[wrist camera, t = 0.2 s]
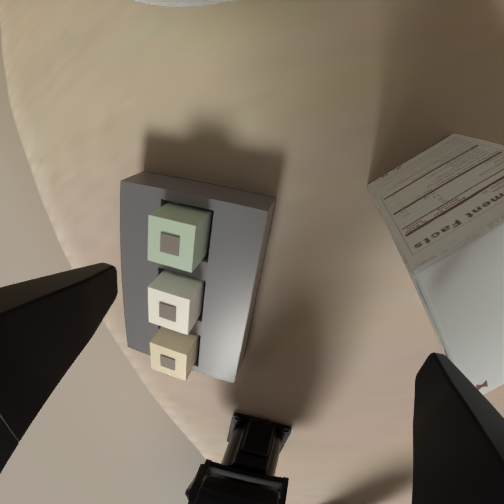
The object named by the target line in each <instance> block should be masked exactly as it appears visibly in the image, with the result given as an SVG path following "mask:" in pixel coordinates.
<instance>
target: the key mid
mask: <svg viewBox="0 0 504 504" xmlns="http://www.w3.org/2000/svg"><path fill="white" fill-rule="evenodd" d="M203 289H204V280H201V279H197V278H194V277H190V276H187V275H183V274H180V273H176V272H173V271H169V270H166V269H164V270H163V271H162V272H161V274H160V275H159V276H158V277H157V278H156V279H155V280H154V281H153V282H152V283H151V284H150V285H149V286H148V317H149V322H150V323H153V324H156V325H159V326H162V327H165V328H168V329H171V330H174V331H177V332H180V333H183V334H186V335H188V334H189V332H190V330H191V329H192V327H193V326H194V324H195V322H196V321H197V319H198V317H199V316H200V314H201V310H202V299H203Z"/></svg>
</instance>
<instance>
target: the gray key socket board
mask: <svg viewBox="0 0 504 504" xmlns="http://www.w3.org/2000/svg"><path fill="white" fill-rule="evenodd" d="M275 201H276V198H273V197H269V196H264V195H260V194H255V193H251V192H246V191H242V190H237V189H232V188H227V187H222V186H218V185H213V184H208V183H203V182H198V181H192V180H187V179H182V178H177V177H171V176H166V175H160V174H154V173H149V172H141V173H138V174H136V175H133V176H131V177H128V178H126V179H124V180H121V185H120V247H121V272H122V289H123V302H124V314H125V325H126V334H127V343H128V347H130V348H132V349H135V350H137V351H140V352H142V353H145V354H148V355H150V341H151V340H152V338H153V337H154V336H155V334H156V333H157V332H158V330H159V329H160V327H161V326H159V325H156V324H153V323H150V322H149V317H148V286H149V285H150V284H151V283H152V282H153V281H154V280H155V279H156V278H157V277H158V276H159V275H160V274H161V272H162V271H163V270H164V269H166V270H169V271H173V272H176V273H180V274H183V275H187V276H190V277H194V278H197V279H201V280H204V289H203V299H202V310H201V314H200V316H199V317H198V319H197V321H196V322H195V324H194V326H193V327H192V329H191V330H190V333H193V334H196V335H199V345H198V358H197V361H196V362H195V364H194V366H193V368H192V371H196V372H199V373H202V374H205V375H208V376H211V377H214V378H218V379H221V380H224V381H228V382H231V383H234V382H235V380H236V377H237V374H238V372H239V369H240V366H241V364H242V361H243V357H244V352H245V348H246V343H247V338H248V333H249V329H250V324H251V319H252V314H253V309H254V305H255V300H256V295H257V290H258V285H259V280H260V275H261V270H262V266H263V261H264V256H265V251H266V246H267V241H268V236H269V231H270V226H271V221H272V216H273V211H274V206H275ZM168 202H172V203H177V204H181V205H186V206H191V207H195V208H200V209H204V210H209V211H212V216H211V224H210V233H209V241H208V250H207V255H206V256H205V257H204V258H203V259H202V261H201V262H200V263H199V264H198V266H197V267H196V268H195V269H194V270H193V272H192V273H191V272H187V271H184V270H180V269H177V268H173V267H170V266H166V265H163V264H159V263H156V262H152V261H149V260H148V217H149V214H151V213H152V212H154V211H155V210H157V209H158V208H160V207H162V206H163V205H165V204H166V203H168ZM150 356H151V355H150Z"/></svg>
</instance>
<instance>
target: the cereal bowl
mask: <svg viewBox="0 0 504 504" xmlns="http://www.w3.org/2000/svg"><path fill="white" fill-rule="evenodd" d="M135 1H138V2H141V3H147V4H152V5H161V6H174V7H195V6H206V5H213V4H221V3H224V2H230V1H235V0H135Z"/></svg>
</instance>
